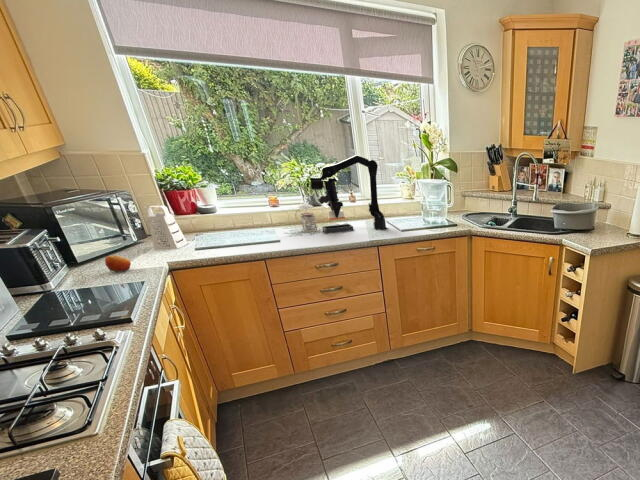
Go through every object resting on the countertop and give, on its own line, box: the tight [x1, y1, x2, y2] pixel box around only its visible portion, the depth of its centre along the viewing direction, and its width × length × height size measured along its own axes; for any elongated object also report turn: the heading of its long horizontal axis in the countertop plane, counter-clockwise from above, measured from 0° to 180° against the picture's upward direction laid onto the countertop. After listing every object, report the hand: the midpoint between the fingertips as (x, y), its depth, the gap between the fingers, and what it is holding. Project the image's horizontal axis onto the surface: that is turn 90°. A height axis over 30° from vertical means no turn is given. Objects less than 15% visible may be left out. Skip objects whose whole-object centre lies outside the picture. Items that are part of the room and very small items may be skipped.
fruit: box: [104, 254, 132, 275], centre depth 177 cm, size 8×8×8 cm
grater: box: [146, 205, 188, 250], centre depth 210 cm, size 10×10×20 cm
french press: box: [294, 186, 320, 233], centre depth 246 cm, size 10×12×25 cm
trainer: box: [326, 209, 346, 221], centre depth 249 cm, size 9×4×4 cm, turn 125°
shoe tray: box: [321, 223, 354, 234], centre depth 253 cm, size 16×8×2 cm, turn 125°
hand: (336, 216), depth 249 cm, fingers closed on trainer, 4 cm apart
